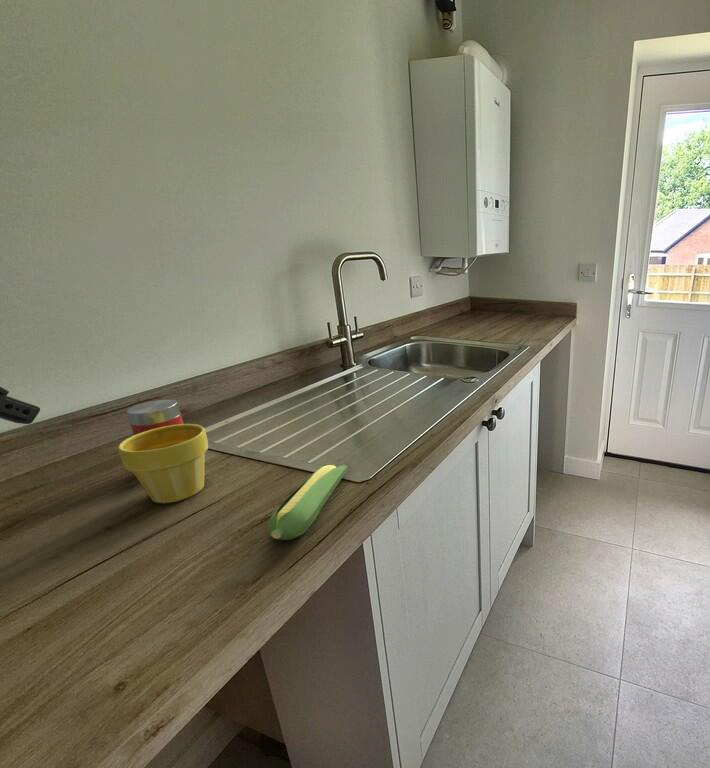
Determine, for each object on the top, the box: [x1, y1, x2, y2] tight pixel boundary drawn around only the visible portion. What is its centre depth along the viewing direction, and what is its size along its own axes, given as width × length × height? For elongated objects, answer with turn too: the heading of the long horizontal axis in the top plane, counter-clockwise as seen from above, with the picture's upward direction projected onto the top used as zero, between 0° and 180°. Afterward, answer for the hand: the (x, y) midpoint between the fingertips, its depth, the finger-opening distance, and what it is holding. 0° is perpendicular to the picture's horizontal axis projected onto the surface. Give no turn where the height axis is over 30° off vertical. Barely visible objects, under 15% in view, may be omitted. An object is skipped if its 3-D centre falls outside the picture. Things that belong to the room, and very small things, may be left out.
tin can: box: [126, 399, 185, 436], centre depth 72 cm, size 7×7×12 cm
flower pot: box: [117, 423, 209, 504], centre depth 64 cm, size 10×10×10 cm
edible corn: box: [268, 460, 350, 541], centre depth 61 cm, size 5×20×5 cm, turn 179°
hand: (31, 415), depth 48 cm, fingers closed
